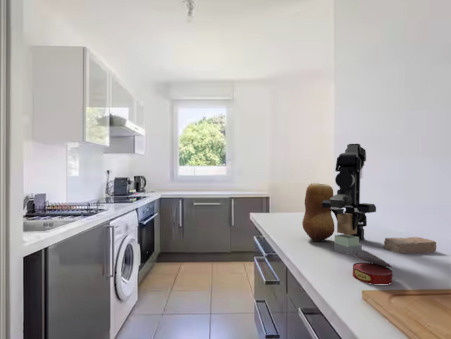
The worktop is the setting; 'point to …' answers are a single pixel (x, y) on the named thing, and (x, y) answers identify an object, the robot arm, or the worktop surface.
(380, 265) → the canned food
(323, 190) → the butternut squash
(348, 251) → the base block
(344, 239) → the top block
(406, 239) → the brick
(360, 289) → the worktop surface
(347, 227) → the tan rectangular prism
